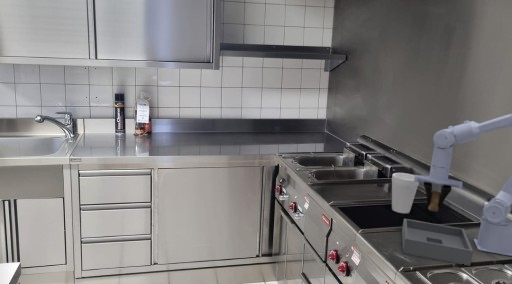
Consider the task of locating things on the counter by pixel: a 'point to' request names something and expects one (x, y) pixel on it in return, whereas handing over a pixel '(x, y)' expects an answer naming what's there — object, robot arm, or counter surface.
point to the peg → (434, 201)
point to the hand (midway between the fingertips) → (433, 205)
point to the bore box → (436, 242)
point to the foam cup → (403, 192)
